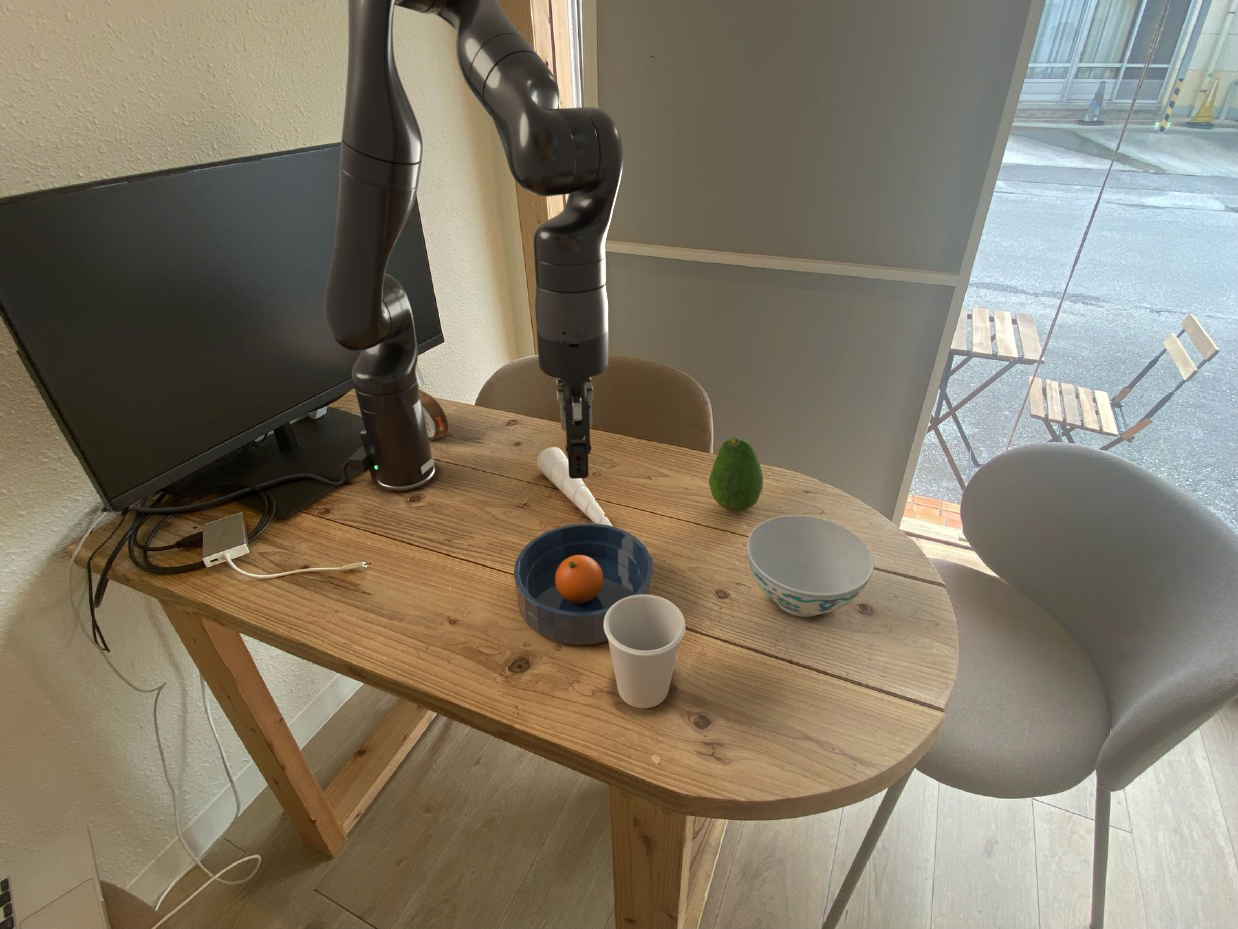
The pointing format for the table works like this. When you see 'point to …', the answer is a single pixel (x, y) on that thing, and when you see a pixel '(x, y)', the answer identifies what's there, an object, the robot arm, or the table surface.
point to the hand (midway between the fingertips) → (576, 457)
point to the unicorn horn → (570, 484)
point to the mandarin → (579, 579)
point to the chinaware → (808, 563)
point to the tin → (434, 417)
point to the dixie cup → (644, 647)
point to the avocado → (736, 475)
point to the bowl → (622, 578)
